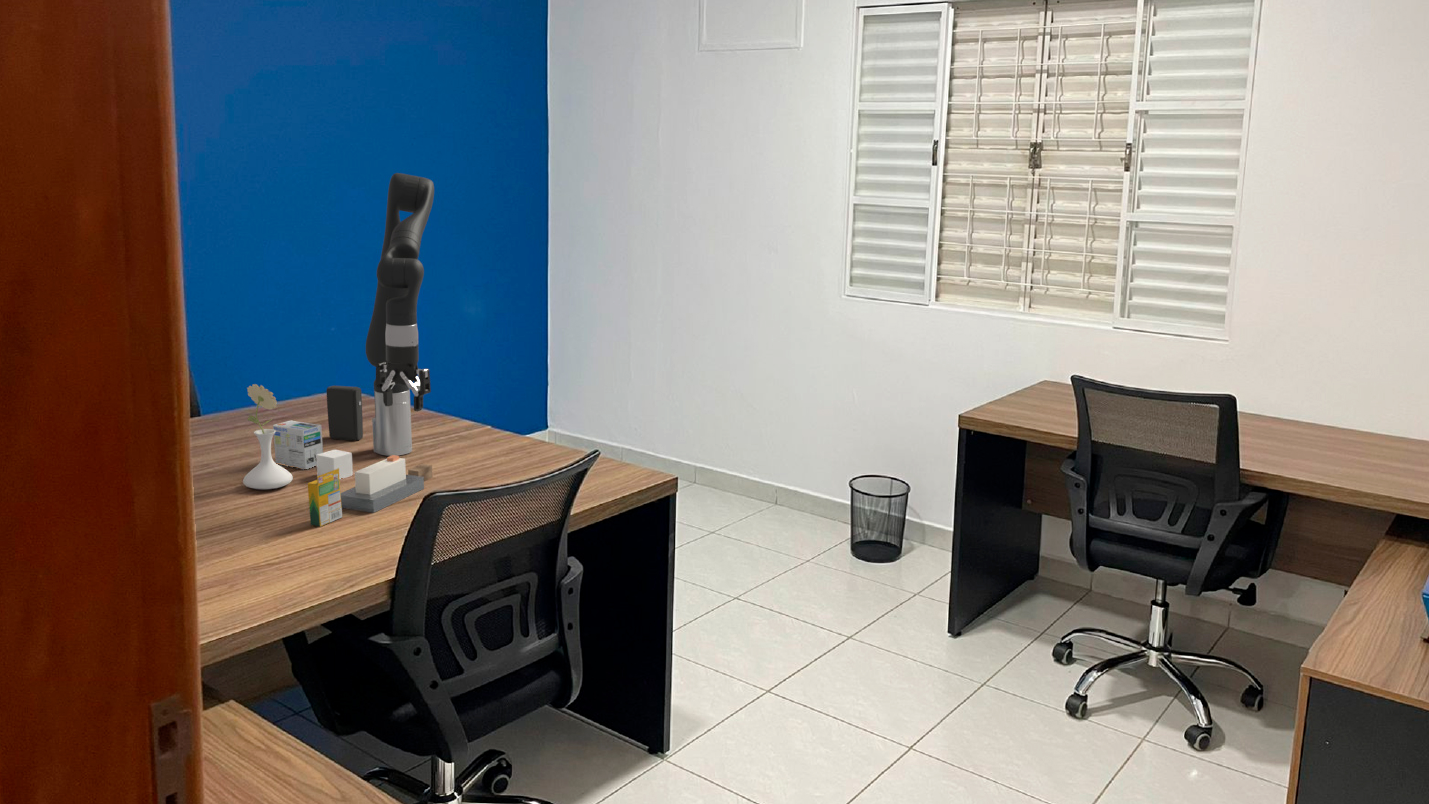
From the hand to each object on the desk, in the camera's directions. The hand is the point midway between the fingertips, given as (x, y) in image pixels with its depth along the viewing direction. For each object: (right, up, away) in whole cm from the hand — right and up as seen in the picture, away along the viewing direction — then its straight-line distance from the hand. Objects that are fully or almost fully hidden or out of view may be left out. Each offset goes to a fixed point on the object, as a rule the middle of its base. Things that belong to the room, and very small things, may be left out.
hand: (403, 408), depth 276 cm
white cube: (-20, -17, +12) cm, 30 cm away
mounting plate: (-4, -21, -4) cm, 22 cm away
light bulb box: (-33, -15, +22) cm, 42 cm away
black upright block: (-29, -9, +47) cm, 56 cm away
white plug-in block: (-4, -21, -4) cm, 22 cm away
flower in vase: (-34, -19, +4) cm, 39 cm away
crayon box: (-11, -25, -21) cm, 35 cm away
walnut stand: (+1, -18, +11) cm, 21 cm away
